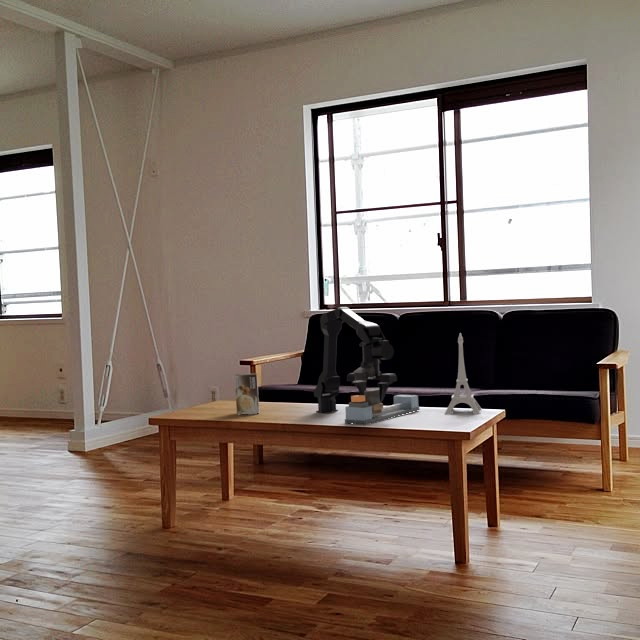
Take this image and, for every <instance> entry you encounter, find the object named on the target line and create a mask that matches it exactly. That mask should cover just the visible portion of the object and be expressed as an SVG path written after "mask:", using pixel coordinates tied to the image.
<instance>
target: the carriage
mask: <svg viewBox="0 0 640 640" xmlns="http://www.w3.org/2000/svg"><path fill="white" fill-rule="evenodd" d="M364 395H365V401H364V402H368V406H372V415H374V414H378V413H382V409H383V407H384V403H382V402H380V394H379V388H378V389H377V388H372V389H368V390H367V389H366V391H364Z"/></svg>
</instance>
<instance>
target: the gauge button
mask: <svg viewBox="0 0 640 640" xmlns="http://www.w3.org/2000/svg"><path fill="white" fill-rule="evenodd" d="M350 400H351V401H350V402H363V401H364V402H365V395H360V394H359V395H358V394H356V395H350Z"/></svg>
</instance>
